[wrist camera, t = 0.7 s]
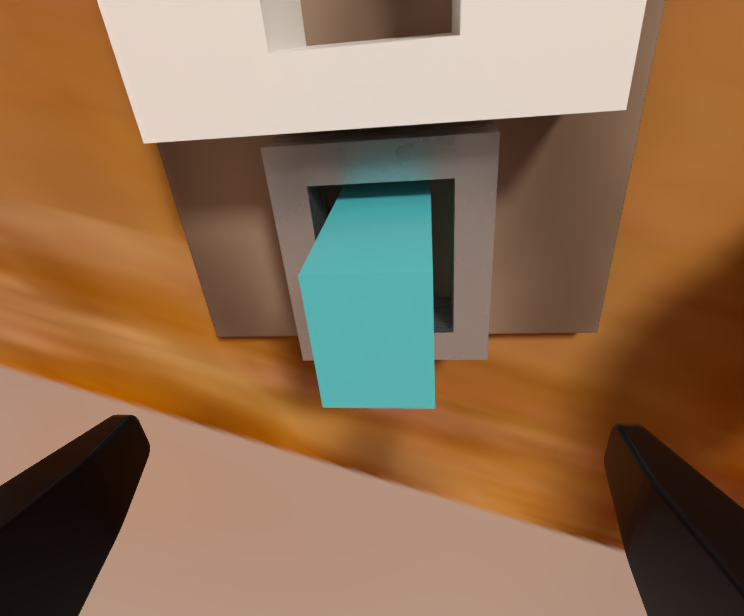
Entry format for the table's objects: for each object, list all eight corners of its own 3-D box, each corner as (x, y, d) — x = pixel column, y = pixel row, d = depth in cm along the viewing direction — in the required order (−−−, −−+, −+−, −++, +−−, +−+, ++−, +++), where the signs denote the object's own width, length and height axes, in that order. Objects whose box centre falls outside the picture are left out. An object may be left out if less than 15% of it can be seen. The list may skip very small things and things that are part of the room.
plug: (430, 179, 16) (433, 271, 10) (432, 281, 18) (435, 408, 12) (344, 183, 16) (298, 275, 10) (356, 283, 18) (322, 407, 12)
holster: (489, 116, 15) (500, 132, 13) (480, 321, 19) (486, 359, 17) (282, 130, 16) (260, 148, 13) (316, 324, 20) (303, 360, 17)
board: (730, -419, 10) (759, -460, 9) (589, 319, 19) (597, 332, 18) (46, -280, 12) (17, -304, 11) (225, 324, 21) (217, 336, 20)
